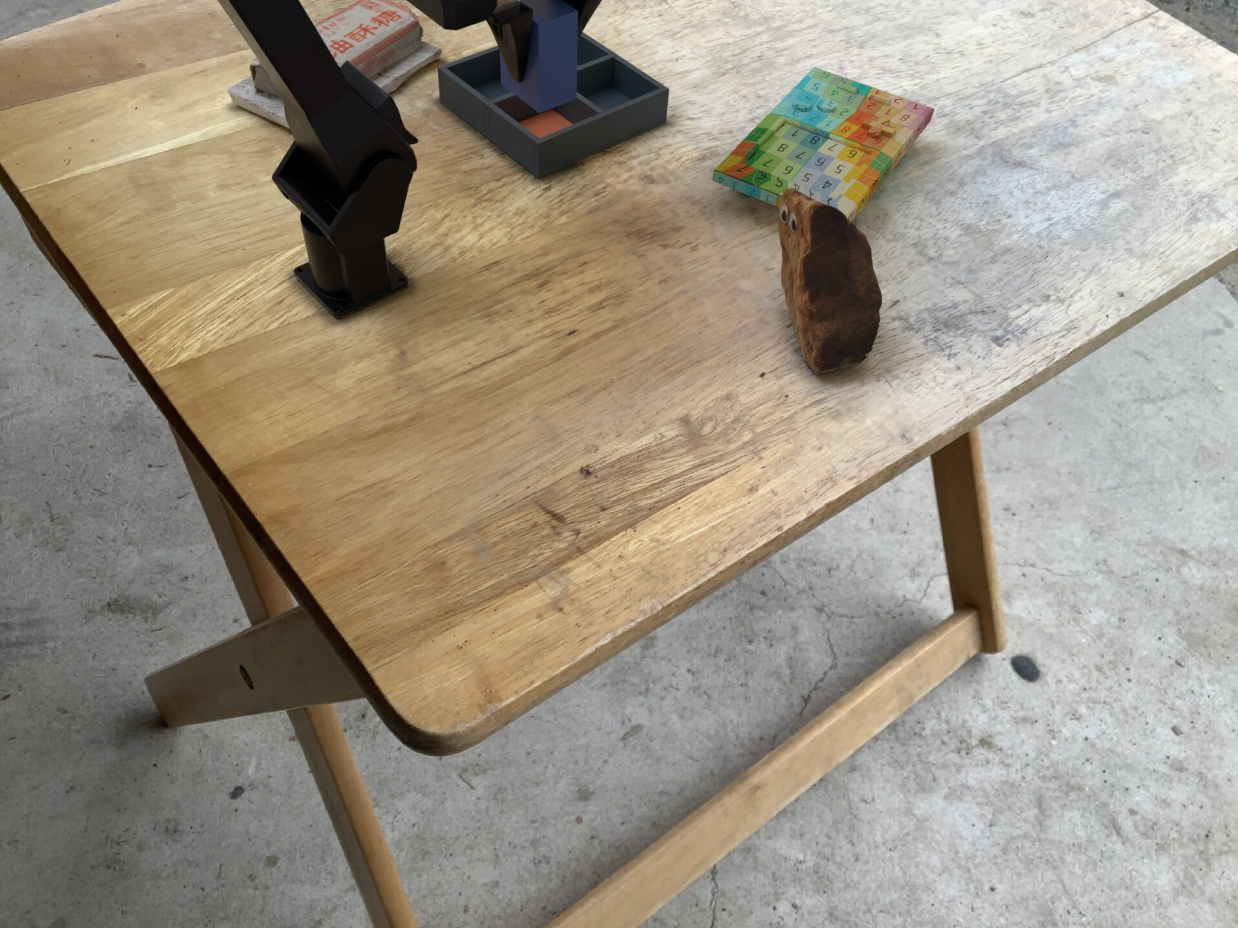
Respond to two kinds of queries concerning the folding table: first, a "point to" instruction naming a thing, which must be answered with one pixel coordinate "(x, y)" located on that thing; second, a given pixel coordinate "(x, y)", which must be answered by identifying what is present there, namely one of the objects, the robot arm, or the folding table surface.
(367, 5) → the packaged product
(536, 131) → the organiser
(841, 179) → the puzzle game
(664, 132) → the folding table surface
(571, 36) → the carton
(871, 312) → the decorative rock
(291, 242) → the folding table surface
